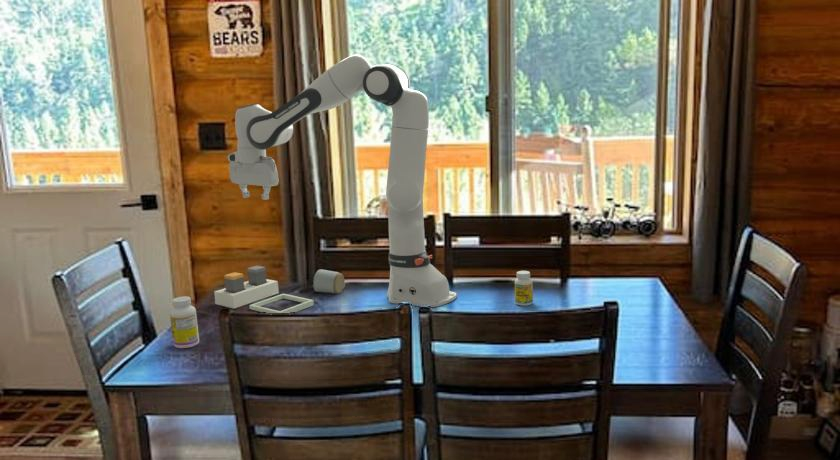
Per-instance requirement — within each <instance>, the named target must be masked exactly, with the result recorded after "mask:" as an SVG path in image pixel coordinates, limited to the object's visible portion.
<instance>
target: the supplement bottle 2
mask: <svg viewBox="0 0 840 460" xmlns="http://www.w3.org/2000/svg"><path fill="white" fill-rule="evenodd" d="M533 288H534V283H533V279H532V278H531V272H530V271H528V270H519V271H517V272H516V279H515V280H514V304H516V305H518V306H523V307H524V306H525V307H526V306H531V305H533V304H534V291H533V290H534V289H533Z"/></svg>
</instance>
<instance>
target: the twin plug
mask: <svg viewBox="0 0 840 460" xmlns="http://www.w3.org/2000/svg"><path fill="white" fill-rule="evenodd" d="M266 279H267V271H266V266H261V265H254V266H250V267H247V281H248V282H249V285H254V286H258V285H262V284H265V283H267V281H266Z"/></svg>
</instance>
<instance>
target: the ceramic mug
mask: <svg viewBox="0 0 840 460" xmlns="http://www.w3.org/2000/svg"><path fill="white" fill-rule="evenodd" d="M345 281H346V280H345V277H344V275H343V274H342V273H341V272H339V271H333V270H327V269H322V268H321V269H318V270H316V272H315V274H314V277H313V282H312V283H313V284H312V285H313V289H314V291H315V293H316V292H319V293H329V294H334V295H335V294H336V295H337V294H340V293H342V291H343V290H344V288H345V286H346V283H345Z"/></svg>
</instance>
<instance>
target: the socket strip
mask: <svg viewBox="0 0 840 460" xmlns="http://www.w3.org/2000/svg"><path fill="white" fill-rule="evenodd" d="M266 281H267V283H265V284H262V285H258V286H254V285H249V282H248V280H247V281H244V290H243V291H240V292H237V293H230V292H226V287H224V288H222V289H217V290H214V291H213V293H214V302H215V305H217V306H223V307H226V308H230V309H237V308H240V307H243V306H245V305H250V304H251V303H252V304H253V303H256V302H259V301H260V300H261V301H262V300H265V299H268V298H270V297H272V296H276V295H277V294H278V295H279V293H280V291H279V282H278V280H273V279H268V278H266Z"/></svg>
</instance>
